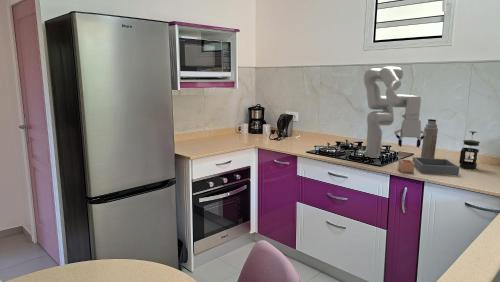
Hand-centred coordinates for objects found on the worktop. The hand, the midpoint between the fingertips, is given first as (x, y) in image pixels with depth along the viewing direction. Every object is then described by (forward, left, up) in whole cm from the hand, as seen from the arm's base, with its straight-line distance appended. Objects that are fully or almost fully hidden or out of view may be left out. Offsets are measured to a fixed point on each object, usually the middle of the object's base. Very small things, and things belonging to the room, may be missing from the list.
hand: (408, 146), depth 205 cm
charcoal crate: (+18, +8, -15) cm, 25 cm away
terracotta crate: (0, 0, -15) cm, 15 cm away
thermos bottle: (+21, +32, -15) cm, 41 cm away
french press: (+41, +20, -15) cm, 48 cm away
